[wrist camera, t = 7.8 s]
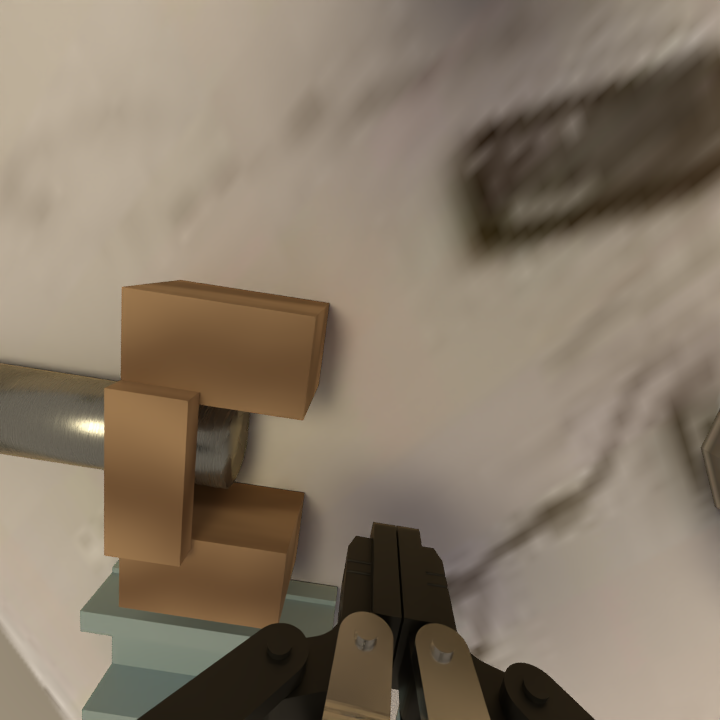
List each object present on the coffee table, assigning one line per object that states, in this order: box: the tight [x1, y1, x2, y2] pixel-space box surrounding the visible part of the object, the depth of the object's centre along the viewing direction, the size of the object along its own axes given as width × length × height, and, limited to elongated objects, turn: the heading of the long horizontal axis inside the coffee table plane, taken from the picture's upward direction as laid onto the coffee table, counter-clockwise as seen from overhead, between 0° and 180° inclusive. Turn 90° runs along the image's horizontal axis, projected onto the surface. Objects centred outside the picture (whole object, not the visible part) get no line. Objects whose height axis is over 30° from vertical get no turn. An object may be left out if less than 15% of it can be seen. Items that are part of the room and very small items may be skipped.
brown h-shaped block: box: [104, 280, 329, 629], centre depth 18 cm, size 14×7×6 cm, turn 172°
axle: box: [0, 363, 250, 489], centre depth 19 cm, size 14×4×4 cm, turn 81°
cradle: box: [80, 560, 338, 720], centre depth 22 cm, size 8×12×4 cm, turn 82°
